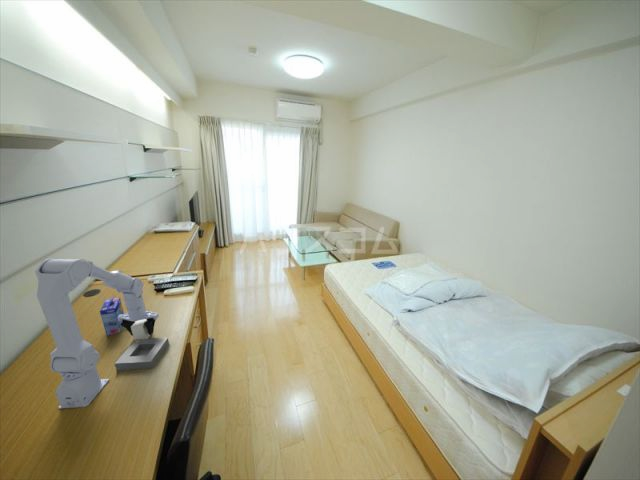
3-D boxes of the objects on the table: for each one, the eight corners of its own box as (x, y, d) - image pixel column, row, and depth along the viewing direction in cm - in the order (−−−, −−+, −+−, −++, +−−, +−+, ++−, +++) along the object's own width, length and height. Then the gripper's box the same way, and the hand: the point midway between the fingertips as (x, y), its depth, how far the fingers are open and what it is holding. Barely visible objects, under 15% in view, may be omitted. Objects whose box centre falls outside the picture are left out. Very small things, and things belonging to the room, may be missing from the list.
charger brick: (146, 340, 100) (142, 326, 97) (134, 341, 99) (130, 326, 97) (152, 332, 104) (149, 318, 102) (141, 333, 104) (138, 319, 102)
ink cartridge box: (122, 332, 104) (114, 303, 99) (106, 336, 101) (96, 306, 97) (126, 319, 112) (118, 291, 108) (111, 323, 110) (102, 295, 105)
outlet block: (152, 368, 87) (150, 361, 86) (116, 370, 86) (114, 363, 85) (169, 343, 98) (167, 337, 97) (137, 345, 97) (135, 338, 96)
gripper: (159, 299, 101) (166, 326, 106) (122, 300, 100) (130, 328, 104) (150, 309, 95) (157, 337, 99) (110, 310, 93) (119, 339, 98)
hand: (142, 333), depth 101 cm, fingers open, 6 cm apart
